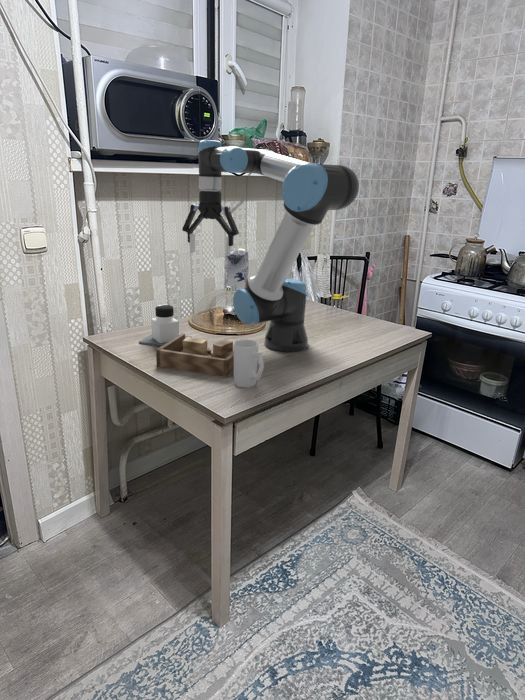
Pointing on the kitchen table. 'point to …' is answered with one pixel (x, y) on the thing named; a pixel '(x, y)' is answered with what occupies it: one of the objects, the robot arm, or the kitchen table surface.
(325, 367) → the kitchen table surface
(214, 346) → the offcut upper
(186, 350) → the offcut
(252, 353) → the mug
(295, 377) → the kitchen table surface
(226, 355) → the offcut lower
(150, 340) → the mat
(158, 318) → the medicine bottle
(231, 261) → the juice carton
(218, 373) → the tray
